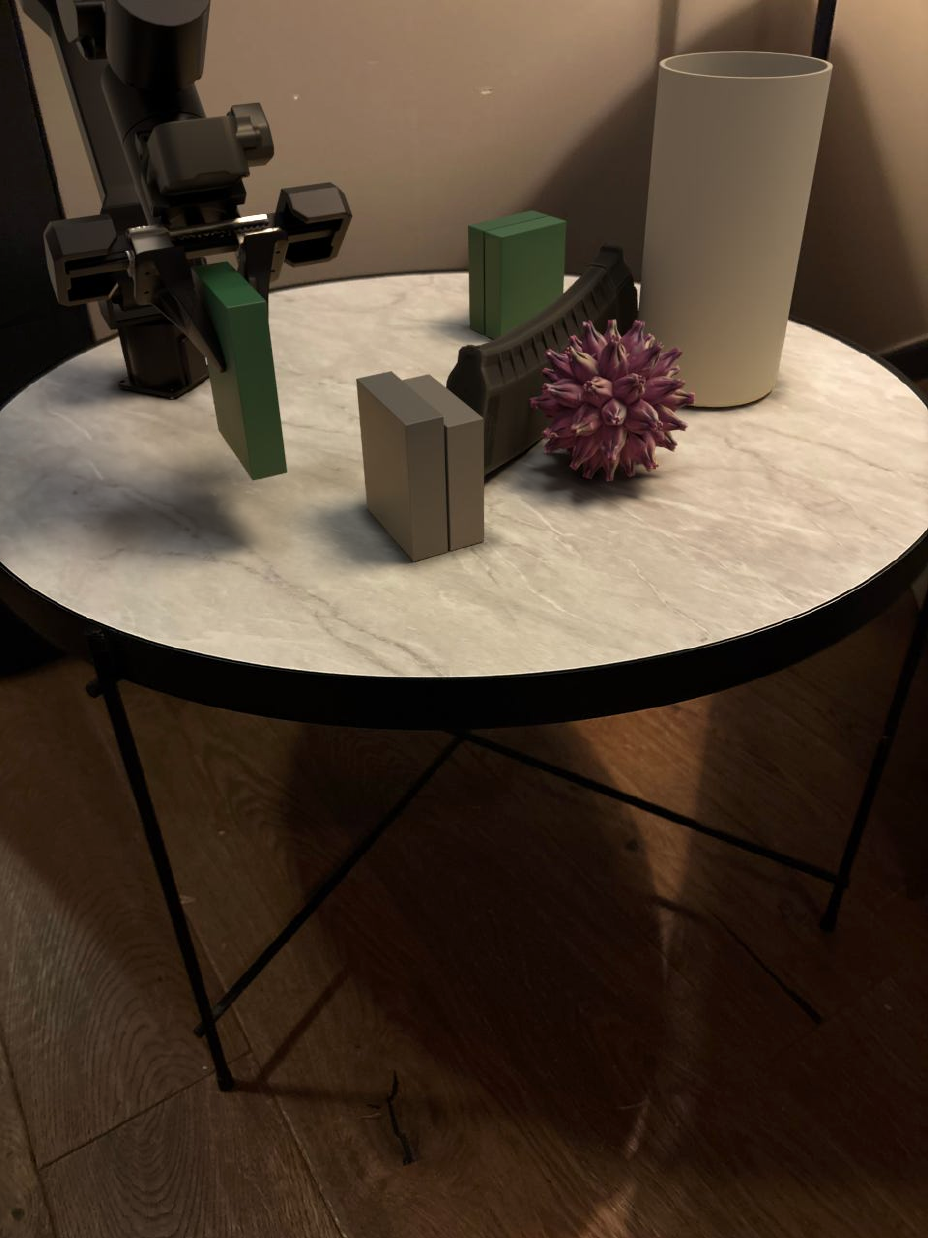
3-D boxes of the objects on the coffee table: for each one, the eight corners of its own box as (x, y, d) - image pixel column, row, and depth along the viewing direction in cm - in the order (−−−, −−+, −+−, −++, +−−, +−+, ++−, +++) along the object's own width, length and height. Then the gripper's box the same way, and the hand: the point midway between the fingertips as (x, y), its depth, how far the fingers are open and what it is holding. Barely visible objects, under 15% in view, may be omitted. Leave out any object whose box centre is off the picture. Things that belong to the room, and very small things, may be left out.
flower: (517, 469, 81) (643, 410, 84) (596, 534, 72) (734, 466, 75) (487, 335, 74) (625, 275, 76) (570, 389, 65) (724, 320, 67)
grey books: (366, 508, 74) (355, 378, 68) (434, 490, 76) (428, 362, 70) (413, 562, 68) (405, 425, 62) (484, 541, 70) (483, 406, 64)
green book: (218, 430, 72) (190, 266, 64) (251, 423, 72) (227, 260, 65) (252, 481, 66) (226, 307, 59) (287, 473, 67) (266, 300, 60)
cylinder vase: (634, 408, 86) (663, 78, 71) (630, 351, 96) (656, 51, 81) (785, 413, 85) (847, 78, 70) (766, 355, 95) (817, 50, 80)
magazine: (453, 399, 67) (635, 164, 81) (412, 389, 68) (598, 159, 83) (490, 569, 80) (641, 340, 95) (455, 558, 82) (609, 334, 96)
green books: (500, 342, 98) (500, 236, 92) (469, 328, 102) (467, 224, 96) (562, 323, 102) (566, 220, 96) (530, 310, 105) (532, 209, 100)
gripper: (0, 68, 54) (89, 336, 53) (327, 39, 61) (412, 277, 60) (20, 188, 65) (94, 415, 64) (298, 153, 71) (369, 357, 70)
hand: (244, 365), depth 64 cm, fingers closed on green book, 2 cm apart
